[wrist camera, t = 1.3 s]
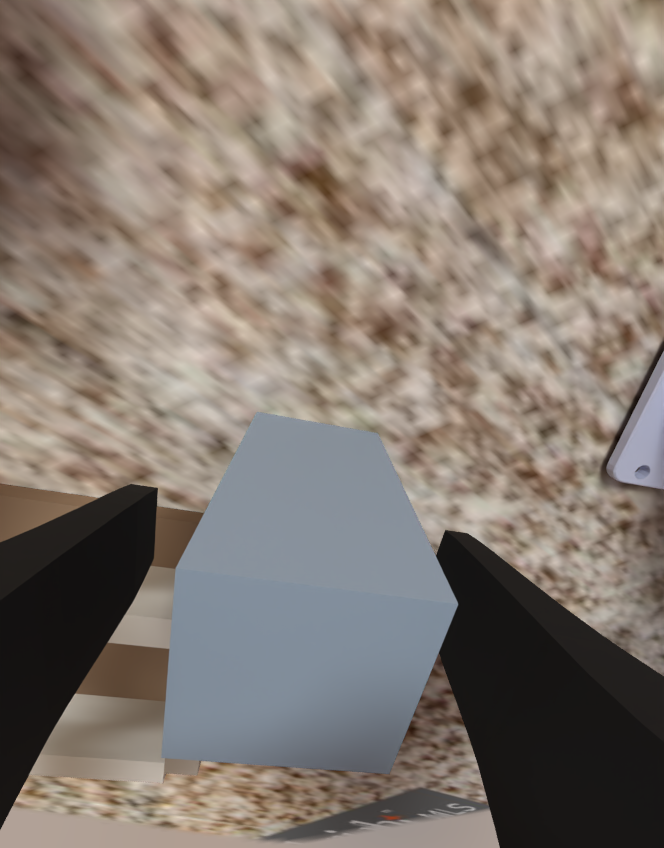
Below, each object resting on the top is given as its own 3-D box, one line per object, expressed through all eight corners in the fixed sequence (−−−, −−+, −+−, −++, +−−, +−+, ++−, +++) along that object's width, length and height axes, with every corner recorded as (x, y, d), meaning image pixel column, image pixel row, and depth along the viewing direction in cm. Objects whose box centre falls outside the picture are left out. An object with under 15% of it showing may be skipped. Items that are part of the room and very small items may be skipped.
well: (378, 538, 13) (392, 593, 11) (317, 747, 17) (317, 822, 14) (-105, 468, 11) (-220, 515, 9) (-52, 718, 15) (-123, 799, 13)
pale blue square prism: (377, 433, 12) (458, 603, 5) (351, 533, 13) (388, 773, 6) (256, 411, 11) (175, 568, 5) (241, 517, 13) (161, 758, 6)
